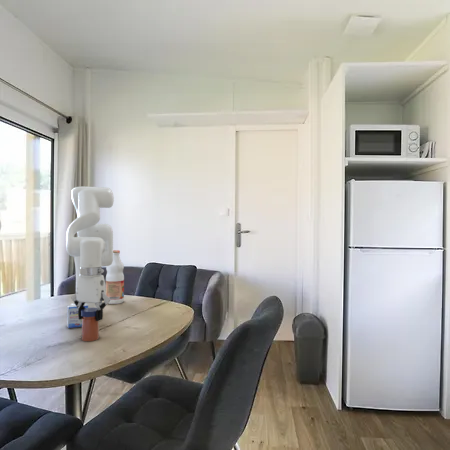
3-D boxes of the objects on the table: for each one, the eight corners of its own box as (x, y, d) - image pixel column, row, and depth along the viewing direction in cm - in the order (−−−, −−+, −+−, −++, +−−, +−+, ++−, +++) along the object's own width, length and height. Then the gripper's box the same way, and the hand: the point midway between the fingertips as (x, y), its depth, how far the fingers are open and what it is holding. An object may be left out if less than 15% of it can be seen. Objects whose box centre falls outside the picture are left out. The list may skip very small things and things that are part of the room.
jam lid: (86, 312, 142) (86, 307, 142) (103, 312, 142) (103, 307, 142) (77, 316, 136) (77, 311, 136) (94, 317, 135) (94, 312, 135)
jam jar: (78, 340, 136) (78, 314, 136) (88, 335, 142) (88, 310, 142) (92, 341, 135) (92, 315, 135) (102, 336, 141) (102, 311, 141)
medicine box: (67, 328, 151) (67, 307, 151) (66, 325, 155) (67, 305, 155) (88, 326, 155) (88, 305, 155) (86, 323, 159) (87, 303, 159)
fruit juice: (102, 302, 200) (102, 250, 199) (118, 299, 206) (118, 249, 206) (110, 305, 193) (111, 251, 193) (127, 302, 200) (127, 250, 199)
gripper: (116, 271, 140) (116, 318, 140) (77, 269, 144) (76, 315, 144) (105, 274, 132) (105, 324, 133) (64, 272, 137) (63, 320, 137)
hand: (90, 318), depth 139 cm, fingers closed on jam lid, 6 cm apart
